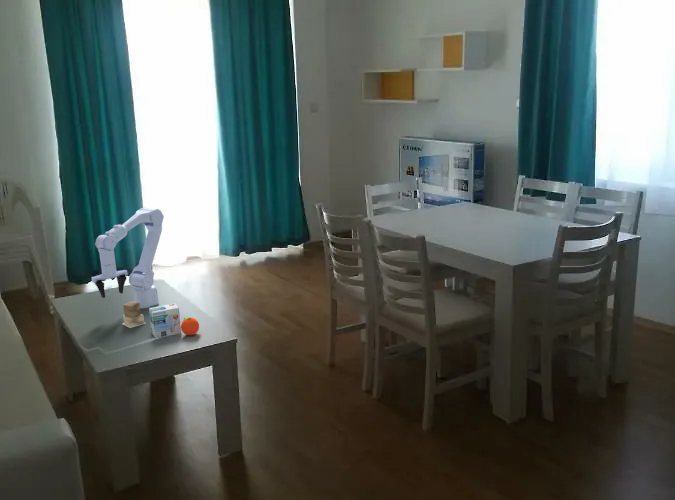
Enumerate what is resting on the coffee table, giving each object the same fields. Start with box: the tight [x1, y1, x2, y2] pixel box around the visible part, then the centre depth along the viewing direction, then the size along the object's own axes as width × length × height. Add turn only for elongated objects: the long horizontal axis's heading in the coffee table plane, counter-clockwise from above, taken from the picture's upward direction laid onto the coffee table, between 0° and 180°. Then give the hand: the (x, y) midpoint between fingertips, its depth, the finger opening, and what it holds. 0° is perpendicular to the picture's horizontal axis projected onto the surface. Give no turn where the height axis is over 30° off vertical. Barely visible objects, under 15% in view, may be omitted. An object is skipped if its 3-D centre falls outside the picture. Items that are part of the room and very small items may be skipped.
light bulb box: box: [148, 302, 182, 339], centre depth 258 cm, size 11×7×11 cm, turn 117°
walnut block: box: [122, 300, 142, 318], centre depth 268 cm, size 4×4×5 cm
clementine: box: [180, 316, 200, 336], centre depth 257 cm, size 8×7×7 cm
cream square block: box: [122, 313, 145, 328], centre depth 269 cm, size 6×6×4 cm
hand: (112, 295), depth 276 cm, fingers open, 7 cm apart
